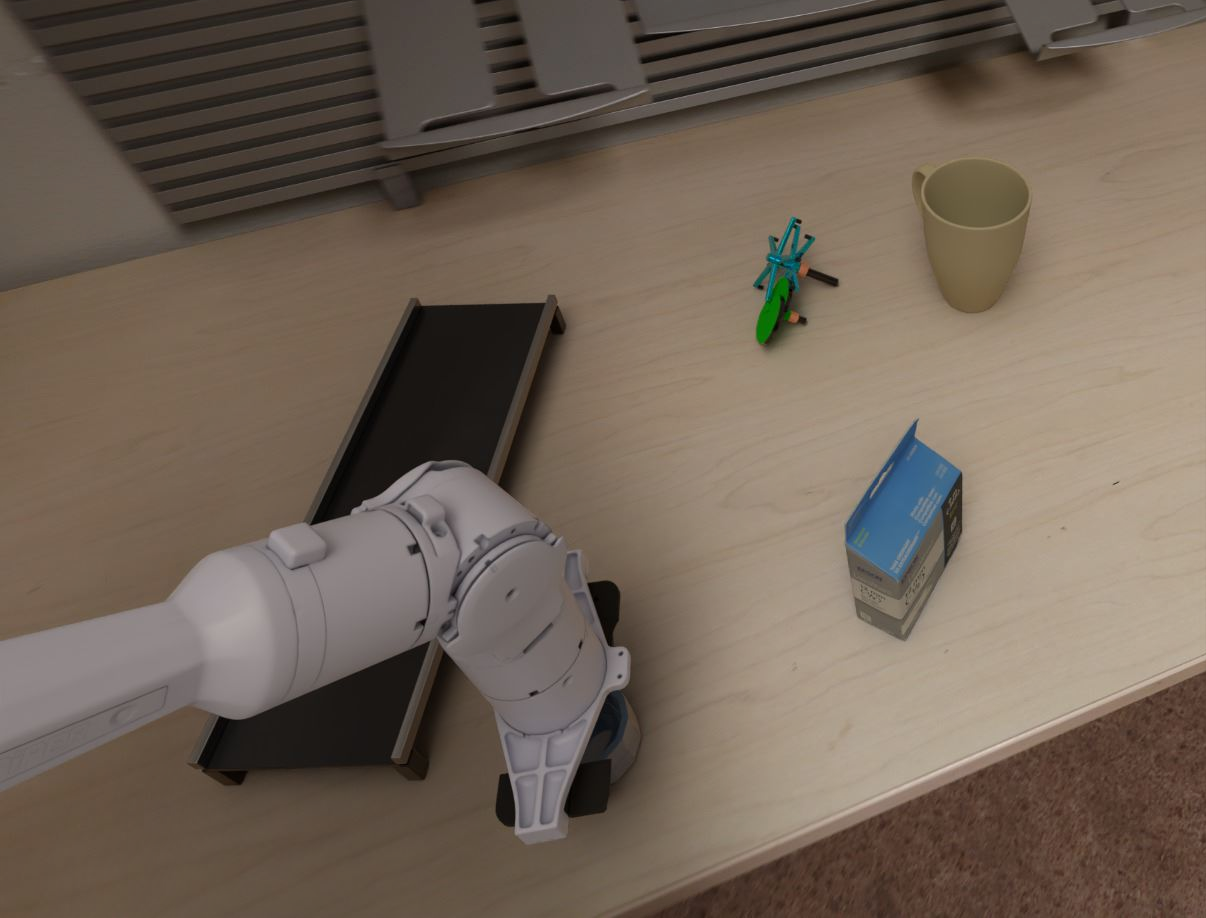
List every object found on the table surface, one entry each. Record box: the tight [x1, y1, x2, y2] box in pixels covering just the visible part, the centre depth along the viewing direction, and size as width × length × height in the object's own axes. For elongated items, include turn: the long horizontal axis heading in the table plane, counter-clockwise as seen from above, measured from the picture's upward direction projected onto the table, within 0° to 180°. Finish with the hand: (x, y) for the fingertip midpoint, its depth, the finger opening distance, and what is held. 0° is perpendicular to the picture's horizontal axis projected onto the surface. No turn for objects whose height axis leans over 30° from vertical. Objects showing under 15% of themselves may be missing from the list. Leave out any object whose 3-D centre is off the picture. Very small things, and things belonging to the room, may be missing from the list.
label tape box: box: [844, 418, 964, 642], centre depth 61 cm, size 9×4×12 cm, turn 151°
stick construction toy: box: [752, 216, 839, 346], centre depth 82 cm, size 12×7×8 cm
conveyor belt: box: [186, 294, 567, 787], centre depth 68 cm, size 36×12×4 cm, turn 1°
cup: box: [580, 690, 642, 785], centre depth 56 cm, size 5×5×4 cm
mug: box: [911, 156, 1033, 314], centre depth 80 cm, size 11×10×12 cm
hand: (593, 736), depth 56 cm, fingers open, 7 cm apart
